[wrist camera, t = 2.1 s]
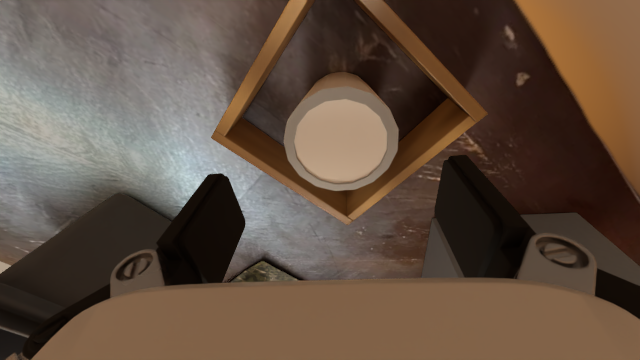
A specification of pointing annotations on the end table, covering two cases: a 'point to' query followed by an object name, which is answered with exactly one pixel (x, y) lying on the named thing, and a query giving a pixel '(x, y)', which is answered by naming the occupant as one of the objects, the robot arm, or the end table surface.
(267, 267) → the eiffel tower figurine
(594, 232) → the block
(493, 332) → the robot arm
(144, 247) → the storage bin
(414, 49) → the wooden frame
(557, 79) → the end table surface
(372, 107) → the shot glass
